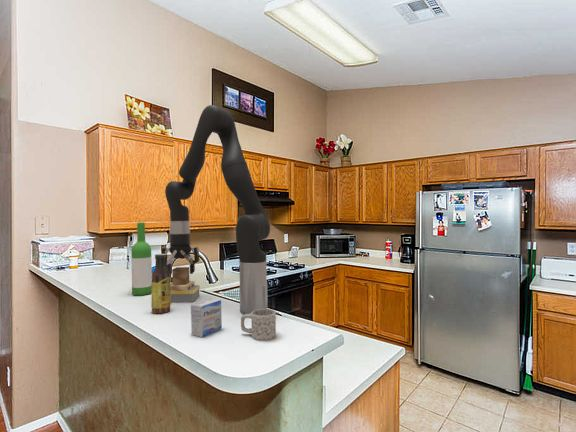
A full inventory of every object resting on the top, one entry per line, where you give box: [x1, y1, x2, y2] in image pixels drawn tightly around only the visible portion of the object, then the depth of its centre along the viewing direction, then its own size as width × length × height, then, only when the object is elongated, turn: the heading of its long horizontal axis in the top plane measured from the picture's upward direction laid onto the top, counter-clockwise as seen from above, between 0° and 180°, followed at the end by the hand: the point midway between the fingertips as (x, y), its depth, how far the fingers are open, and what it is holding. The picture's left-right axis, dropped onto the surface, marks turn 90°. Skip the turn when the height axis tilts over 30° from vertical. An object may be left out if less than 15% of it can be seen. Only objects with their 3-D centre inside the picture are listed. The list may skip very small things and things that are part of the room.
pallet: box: [171, 280, 195, 291], centre depth 134 cm, size 8×10×2 cm
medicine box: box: [190, 298, 223, 338], centre depth 98 cm, size 8×4×9 cm, turn 148°
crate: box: [171, 266, 190, 285], centre depth 134 cm, size 5×5×6 cm
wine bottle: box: [131, 222, 153, 297], centre depth 143 cm, size 8×8×30 cm
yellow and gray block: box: [171, 284, 201, 303], centre depth 134 cm, size 12×9×4 cm
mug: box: [240, 308, 277, 342], centre depth 95 cm, size 10×7×7 cm
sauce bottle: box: [150, 253, 172, 314], centre depth 118 cm, size 7×6×20 cm
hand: (180, 273), depth 134 cm, fingers open, 8 cm apart
